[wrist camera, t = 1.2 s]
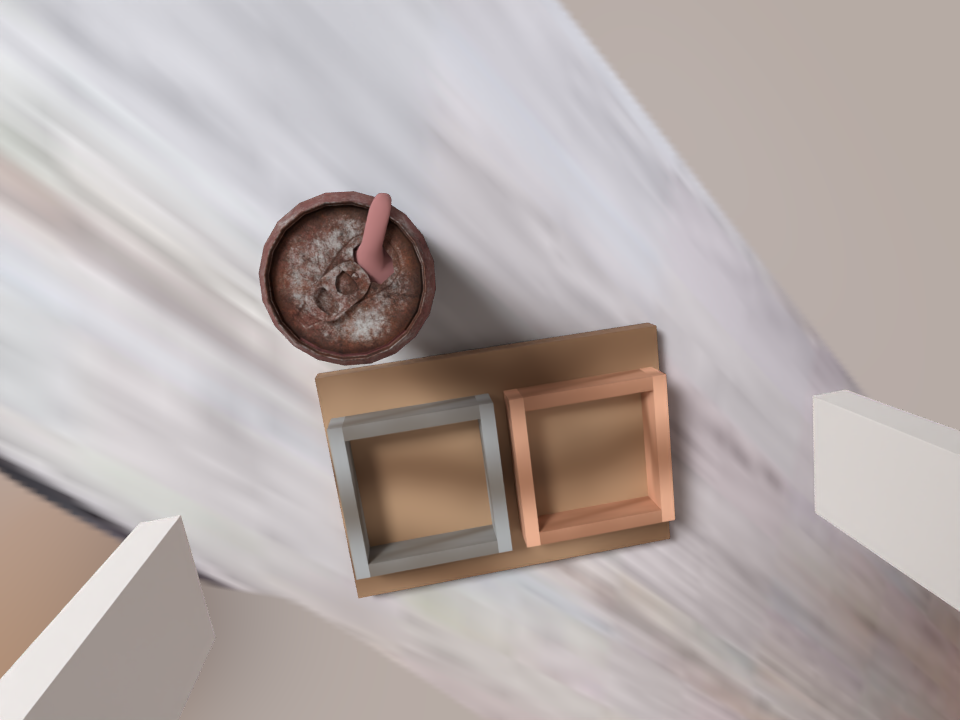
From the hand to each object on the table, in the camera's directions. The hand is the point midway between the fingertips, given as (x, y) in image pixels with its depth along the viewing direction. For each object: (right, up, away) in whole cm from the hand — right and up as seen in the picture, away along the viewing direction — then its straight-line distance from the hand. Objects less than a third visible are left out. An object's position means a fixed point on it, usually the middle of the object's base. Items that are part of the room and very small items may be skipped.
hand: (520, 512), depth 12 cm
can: (-7, +9, +22) cm, 24 cm away
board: (+1, -3, +25) cm, 25 cm away
